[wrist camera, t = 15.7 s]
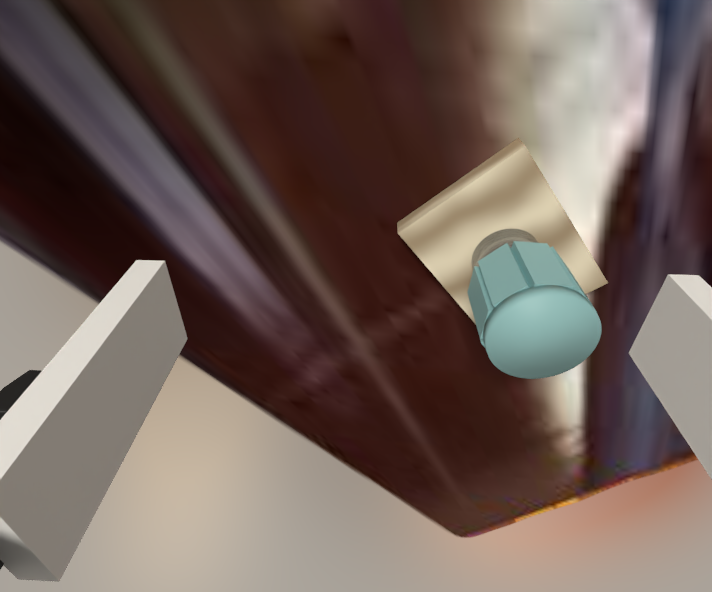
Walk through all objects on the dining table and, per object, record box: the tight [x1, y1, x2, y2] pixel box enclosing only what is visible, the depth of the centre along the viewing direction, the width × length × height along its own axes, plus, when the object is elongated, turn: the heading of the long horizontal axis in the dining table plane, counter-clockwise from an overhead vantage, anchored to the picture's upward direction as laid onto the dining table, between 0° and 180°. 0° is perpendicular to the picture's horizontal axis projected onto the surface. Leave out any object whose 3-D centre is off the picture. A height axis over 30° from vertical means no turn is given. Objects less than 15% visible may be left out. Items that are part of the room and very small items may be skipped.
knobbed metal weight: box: [471, 229, 538, 269], centre depth 37 cm, size 6×6×6 cm
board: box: [397, 138, 608, 324], centre depth 40 cm, size 16×12×2 cm
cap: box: [467, 241, 601, 379], centre depth 33 cm, size 8×8×7 cm
